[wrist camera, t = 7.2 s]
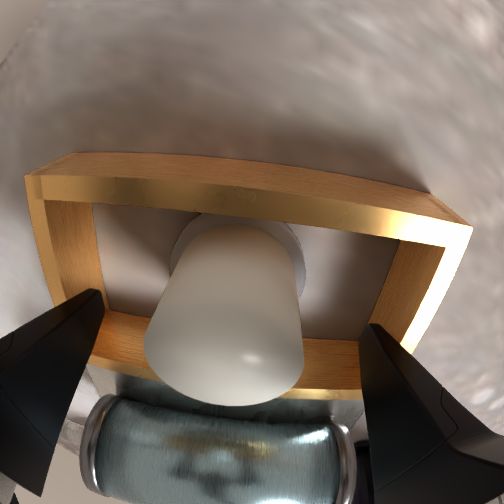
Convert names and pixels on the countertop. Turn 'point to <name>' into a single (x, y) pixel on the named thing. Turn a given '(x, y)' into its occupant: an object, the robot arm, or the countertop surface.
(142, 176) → the open wooden frame
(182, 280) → the white rounded capsule
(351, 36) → the countertop surface
